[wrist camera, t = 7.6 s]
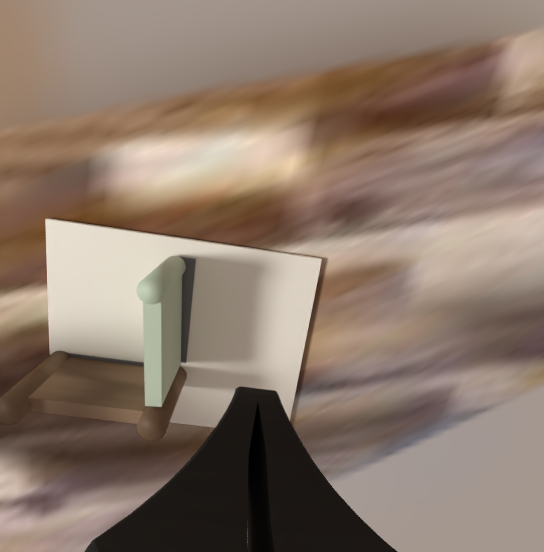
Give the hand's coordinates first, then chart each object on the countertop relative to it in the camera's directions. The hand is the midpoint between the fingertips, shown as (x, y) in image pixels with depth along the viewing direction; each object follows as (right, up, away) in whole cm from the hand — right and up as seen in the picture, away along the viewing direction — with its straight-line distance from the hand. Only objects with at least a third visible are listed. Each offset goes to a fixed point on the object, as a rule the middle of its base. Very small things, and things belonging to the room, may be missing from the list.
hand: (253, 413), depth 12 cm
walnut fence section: (-9, -1, +10) cm, 13 cm away
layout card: (-5, +1, +9) cm, 11 cm away
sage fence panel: (-5, +3, +8) cm, 10 cm away
